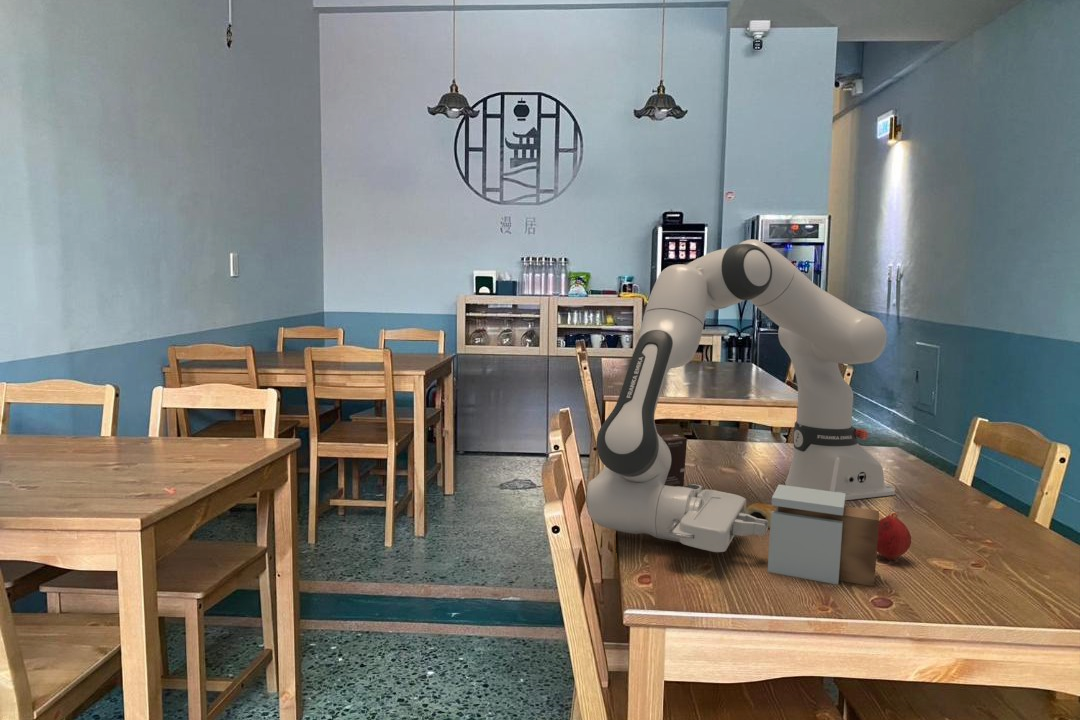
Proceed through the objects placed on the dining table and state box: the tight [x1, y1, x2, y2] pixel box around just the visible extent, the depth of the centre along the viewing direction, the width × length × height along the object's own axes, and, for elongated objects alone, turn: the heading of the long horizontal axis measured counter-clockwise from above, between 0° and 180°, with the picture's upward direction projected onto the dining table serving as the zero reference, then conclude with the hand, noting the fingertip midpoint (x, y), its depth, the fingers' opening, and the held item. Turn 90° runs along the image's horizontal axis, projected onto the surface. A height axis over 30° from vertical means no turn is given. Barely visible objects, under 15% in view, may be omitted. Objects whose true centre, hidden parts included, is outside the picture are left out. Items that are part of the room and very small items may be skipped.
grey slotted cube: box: [767, 484, 846, 585], centre depth 111 cm, size 10×8×12 cm
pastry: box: [746, 502, 776, 529], centre depth 134 cm, size 9×7×4 cm
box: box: [659, 433, 688, 487], centre depth 151 cm, size 6×4×12 cm
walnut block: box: [778, 505, 880, 588], centre depth 110 cm, size 14×5×10 cm, turn 65°
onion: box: [877, 511, 912, 561], centre depth 116 cm, size 6×6×8 cm
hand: (767, 528), depth 113 cm, fingers closed
